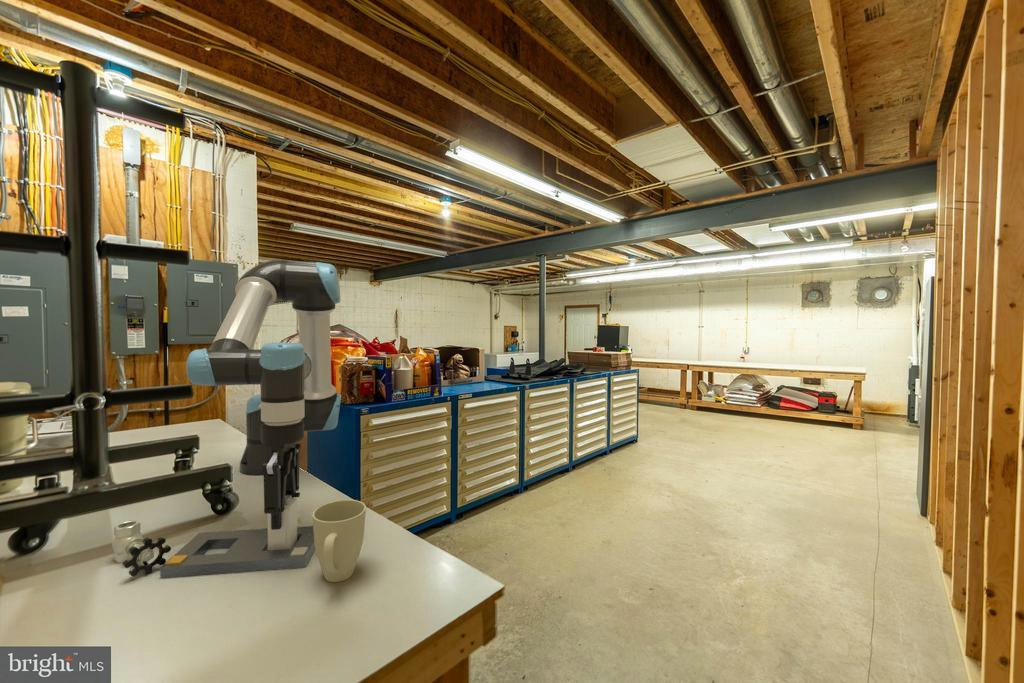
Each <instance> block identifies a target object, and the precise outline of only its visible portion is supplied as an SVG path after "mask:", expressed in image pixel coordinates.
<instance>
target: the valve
mask: <svg viewBox="0 0 1024 683" xmlns="http://www.w3.org/2000/svg"><path fill="white" fill-rule="evenodd" d="M113 536H114V538H113V540H112V544H111V546H112V550H113V551H114V552H113V555H114V558H113V560H114V561H115V562H116V563H118V564H120V563H121V564H122V566H123V567H124V568H125V569H128V568H130V567H133V569H130V570H129V571H128V574H129V576H131V577H136V576H137V575H138V574H140V572H141V571H143V572H142V573H143V574H144V575H145V576H149V575H151V574H152V573H153V571H154V569H153V568H154V566H156V565H159V566H162V565H163V564H165V563H166V562H167V559H166V558H164V557H163V556H164V554H168V553H170V552H171V550H172V547H171V546H170V545H168V544H166V545H164V544H165V543H166V538H165V537H163V536H159V537H158V538H157V540H156V541H155V542H153V539H152V538H151V537H145V538H143V534H142V532H141V522H140V521H139V520H137V519H133V520H127V521H126V520H125V521H122V522H121V523H118V524H116V525H115V526H114V527H113ZM163 545H164V547H163ZM156 548H157V550H158V553H157V554H158V555H157V557H156V558H155V553H154V551H153V550H154V549H156ZM153 558H155V559H154V560H153V561H152V562H150V561H151V560H152V559H153ZM137 559H138V560H140V561H141V562H142V565H138V562H137ZM148 562H150V563H148Z"/></svg>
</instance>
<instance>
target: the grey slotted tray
mask: <svg viewBox="0 0 1024 683" xmlns="http://www.w3.org/2000/svg"><path fill="white" fill-rule="evenodd" d="M223 549H227V550H226V551H225V552H223V553H212V554H205V553H207V551H208V550H223ZM315 551H316V550H315V543H314V530H313V525H309V526H307V525H306V526H297V543H296V545H295V546H294V548H293V549H283V550H268V528H258V529H257V528H256V529H255V528H253V529H241V530H222V531H208V532H207V531H205V532H199V533H198V534H196V535H194V537H193V538H192V539H191V540H190V541H188V542H187V543H186V544H185V545H184V546H182V547H181V549H179V550H178V551H177V552H176V553H175V554H174V555H172V556H171V557H170V558H168V560H166V562H165V564H163V565H160V567H159V570H160V571H159V572H160V573H159V575H160V576H159V577H160V579H166V578H168V579H169V578H181V577H194V576H209V575H220V574H223V575H224V574H232V573H235V574H237V573H246V572H247V573H249V572H261V571H273V570H286V569H287V570H288V569H299V568H300V569H301V568H306V567H307V565H308V563H309V561H310V560H311V558H312V556H313V554H314V553H315Z"/></svg>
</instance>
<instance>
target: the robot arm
mask: <svg viewBox="0 0 1024 683" xmlns="http://www.w3.org/2000/svg"><path fill="white" fill-rule="evenodd" d="M340 288H341V287H340V281H339V274H338V272H337V269H336V267H335V265H333V264H331V263H324V262H321V261H320V262H319V261H305V260H304V261H303V260H284V259H273V260H268V261H264V262H262V263H259V264H257V265H255V266H253V267H252V268H250V269H249V270H247V271H246V272H244V274H243V275H242V276H241V277H240V278H239V279H238V281H237V283H236V285H235V290H234V292H235V295H236V296H235V297H234V298H233V299H234V300H233V301H232V303H231V306H230V307H229V309H228V311H227V314H226V315H225V317H224V320H222V323H221V325H220V327H219V329H218V331H217V333H216V335H215V337H214V339H213V341H212V343H211V345H210V346H209V348H202V349H201V348H200V349H199V348H198V349H194V350H193V351H192V350H191V352H190V353H189V354H188V356H187V360H186V366H185V367H186V370H185V371H186V375H187V379H188V381H189V382H190V383H191V384H193V385H195V386H212V387H217V386H218V387H220V386H222V387H223V386H242V385H243V386H245V385H248V386H250V385H252V386H253V385H260V393H259V394H255V395H252V396H250V397H249V398H248V399H247V402H246V411H245V414H246V421H245V422H246V424H245V425H246V445H245V447H244V450H243V454H242V456H241V459H240V461H239V472H240V473H242V474H244V475H251V476H252V475H253V476H257V475H258V476H259V475H263V508H264V510H263V513H264V514H265V515H268V514H270V545H271V544H285V543H286V514H287V509H285V508H284V506H285V496H286V495H292V498H300V495H301V492H299V489H300V454H301V453H300V452H301V447H302V446H301V443H298V442H301V441H302V440H303V439H304V438H305V432H318V431H319V432H323V431H331V430H335V429H336V428H337V426H338V422H339V415H340V407H341V402H342V394H341V393H339V392H338V393H337V388H336V387H335V386H334V385H333V384H332V356H331V355H332V354H331V353H332V352H331V349H332V348H331V344H332V343H331V313H332V312H333V311H334V310H336V305H338V304H340V302H341V289H340ZM280 301H281V302H282V301H283V302H291V306H292V307H291V308H292V309H293V310H294V311H295V312H296V313H298V314H297V315H298V335H299V336H298V337H299V342H267V343H264V344H262V346H261V348H260V349H254V346H255V344H256V340H257V338H258V335H259V333H260V331H261V328H262V325H263V323H264V320H265V317H266V314H267V312H268V309H269V308H270V307H271V306H272V305H274V303H276V302H280Z"/></svg>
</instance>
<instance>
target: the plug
mask: <svg viewBox="0 0 1024 683" xmlns="http://www.w3.org/2000/svg"><path fill="white" fill-rule="evenodd" d="M284 508H285V509H287V514H286V543H285V544H271V545H270V514H267V529H268V550H283V549H293V548H294V546H295V545H296V543H297V527H298V497H293V498H292V495H286V496H285V506H284Z"/></svg>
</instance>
